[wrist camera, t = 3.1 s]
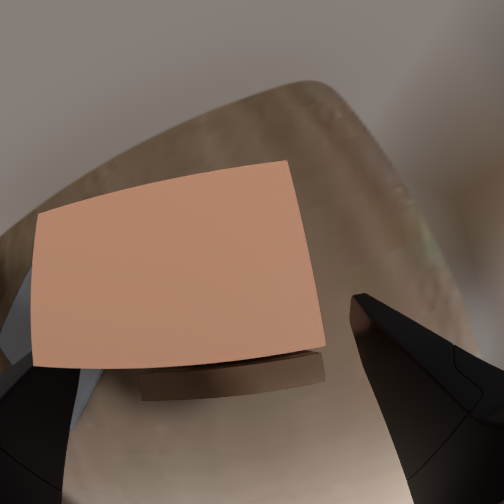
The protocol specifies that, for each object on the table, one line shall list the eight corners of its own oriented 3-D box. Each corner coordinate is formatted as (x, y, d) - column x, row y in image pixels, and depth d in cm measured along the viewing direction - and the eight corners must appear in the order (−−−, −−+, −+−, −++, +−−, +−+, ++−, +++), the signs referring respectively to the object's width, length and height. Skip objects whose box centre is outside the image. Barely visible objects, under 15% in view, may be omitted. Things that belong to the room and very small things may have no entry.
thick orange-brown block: (283, 344, 16) (326, 345, 5) (180, 357, 16) (33, 366, 5) (273, 282, 17) (286, 160, 6) (174, 297, 17) (38, 213, 6)
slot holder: (315, 374, 15) (325, 381, 12) (161, 392, 15) (141, 400, 12) (292, 245, 18) (297, 225, 15) (149, 267, 18) (129, 252, 15)
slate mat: (72, 430, 14) (69, 431, 14) (0, 343, 16) (-4, 342, 16) (133, 317, 17) (131, 317, 16) (48, 243, 19) (45, 241, 18)
